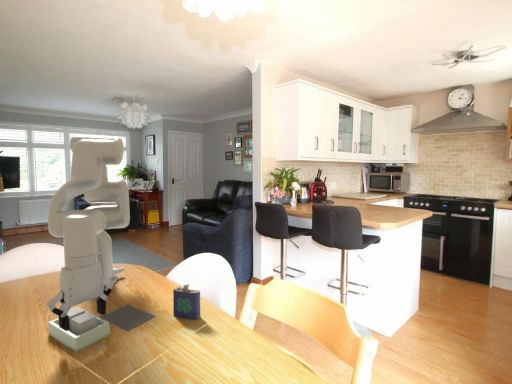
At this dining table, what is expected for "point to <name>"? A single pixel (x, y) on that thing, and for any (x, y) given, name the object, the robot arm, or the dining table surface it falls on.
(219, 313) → the dining table surface
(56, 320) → the bin
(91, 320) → the grey block
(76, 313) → the stone
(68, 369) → the dining table surface
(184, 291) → the flask
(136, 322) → the mat
